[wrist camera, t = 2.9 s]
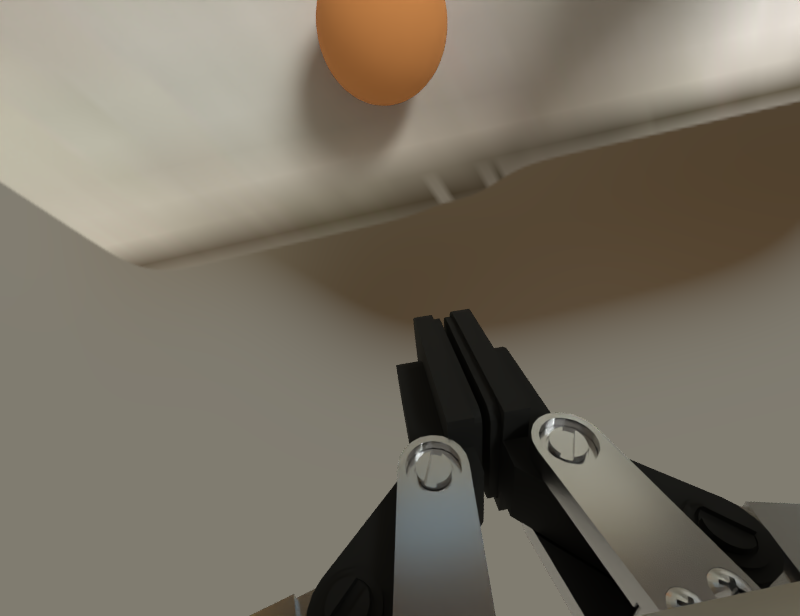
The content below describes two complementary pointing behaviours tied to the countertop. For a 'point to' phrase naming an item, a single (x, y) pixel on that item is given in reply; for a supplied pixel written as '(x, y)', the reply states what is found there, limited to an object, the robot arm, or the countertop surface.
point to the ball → (382, 45)
